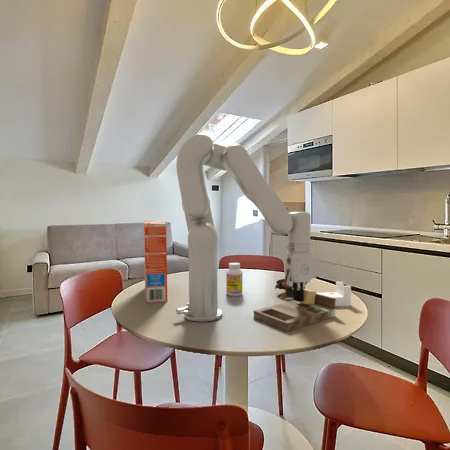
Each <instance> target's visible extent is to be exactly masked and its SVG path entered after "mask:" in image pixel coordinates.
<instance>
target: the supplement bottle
mask: <svg viewBox="0 0 450 450" xmlns="http://www.w3.org/2000/svg"><path fill="white" fill-rule="evenodd" d="M225 275H226V282H225V283H226V291H225V292H226V295H227V296H231V297H239V296H241V295H242V294H243V270H242V269H241V263H240V262H229V263H228V269H227V270H226V274H225Z"/></svg>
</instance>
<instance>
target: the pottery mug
mask: <svg viewBox="0 0 450 450" xmlns="http://www.w3.org/2000/svg"><path fill="white" fill-rule="evenodd" d="M286 283H287V281H286V280H285V278H281V279H278V280H276V285H275V288H274V289H275V290H276V289H278V290H284V292H281V293H280V294H281V295H280V296H281V298H282V299H289V298H290V299H293V291H294V289H292V287H291V286H287V285H286Z"/></svg>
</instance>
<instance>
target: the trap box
mask: <svg viewBox="0 0 450 450" xmlns="http://www.w3.org/2000/svg"><path fill="white" fill-rule="evenodd" d="M317 293H318V292H316V296H315V303H314V305H312V304H304V303H301V302H297V301H294V300H291V301H287V302H282V303H279V304H275V305H271V306H267V307H263V308H260V309H256V310H255V309H254V310H253V319H254V320H255V319H256V320H257V321H260V322H262V323H265V324H267V325H270V326H272V327H274V328H277V329H279V330H282V331H284V332H287V333H288V332H292V331H294V330H298V329H300V328H304V327H307V326H310V325H313V324H316V323H318V322H321V321H324V320H327V319H330V318H333V317H336V306H335V301H336V299H335V298H332V297H328V296H324V295H320V294H317Z"/></svg>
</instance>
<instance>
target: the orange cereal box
mask: <svg viewBox="0 0 450 450" xmlns="http://www.w3.org/2000/svg"><path fill="white" fill-rule="evenodd" d="M143 242H144V243H143V245H144V246H143V247H144V248H143V250H144V251H143V252H144V255H143V256H144V290H145V291H144V293H146V294H145V303H146V302H154V303H163V302H162V301H167V302H168V264H167V261H168V259H167V257H168V256H167V254H168V253H167V248H168V247H167V224H166V223H165V222H164V221H163V220H144V221H143Z"/></svg>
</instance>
